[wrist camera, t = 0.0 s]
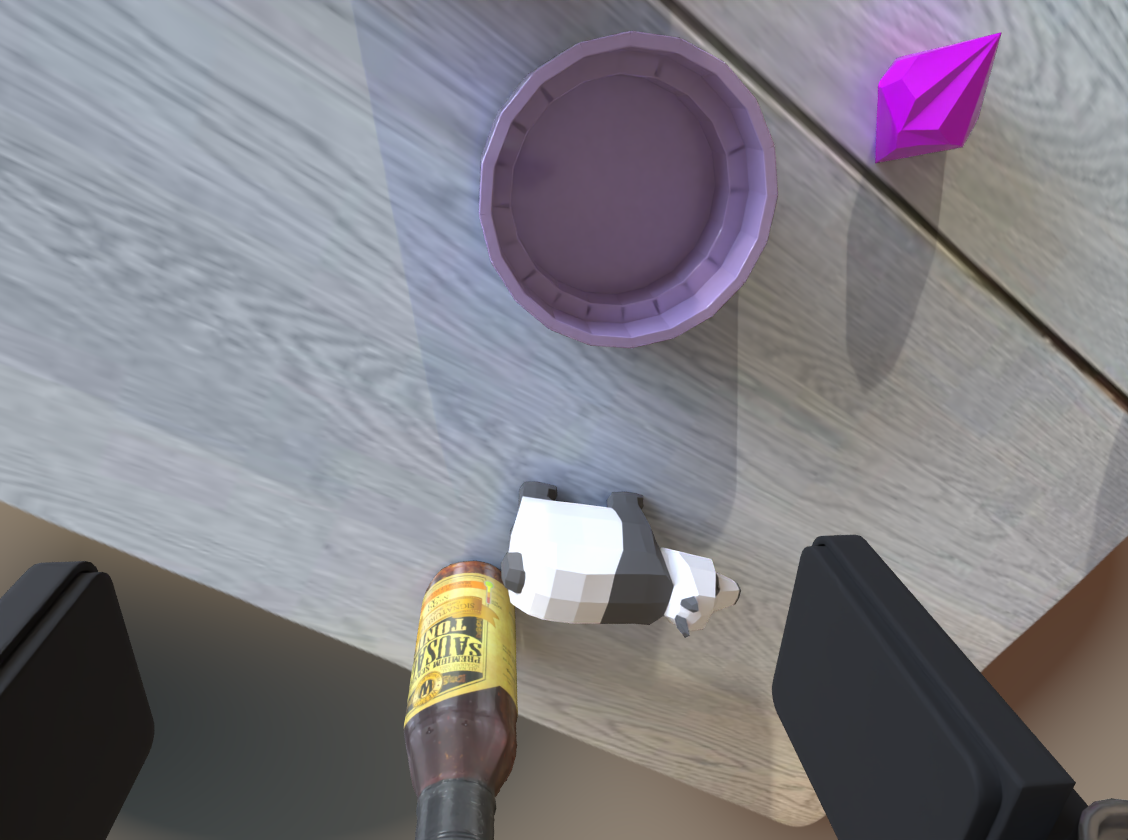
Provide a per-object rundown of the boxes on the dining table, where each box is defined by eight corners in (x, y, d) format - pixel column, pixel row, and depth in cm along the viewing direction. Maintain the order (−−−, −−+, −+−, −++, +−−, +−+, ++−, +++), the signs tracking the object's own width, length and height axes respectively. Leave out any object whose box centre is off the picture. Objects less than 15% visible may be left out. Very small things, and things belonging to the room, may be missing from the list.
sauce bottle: (478, 539, 46) (477, 820, 28) (531, 597, 49) (561, 888, 31) (400, 588, 47) (353, 890, 29) (456, 642, 50) (444, 950, 32)
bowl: (607, -28, 33) (630, -50, 28) (789, 178, 38) (835, 191, 33) (424, 202, 37) (416, 219, 32) (614, 363, 42) (632, 399, 37)
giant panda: (490, 542, 46) (494, 644, 38) (506, 471, 44) (512, 562, 36) (694, 565, 49) (740, 665, 41) (718, 500, 47) (771, 590, 38)
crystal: (855, 67, 36) (904, 64, 32) (954, 31, 36) (1016, 24, 32) (866, 166, 39) (913, 175, 34) (960, 133, 38) (1018, 138, 34)
